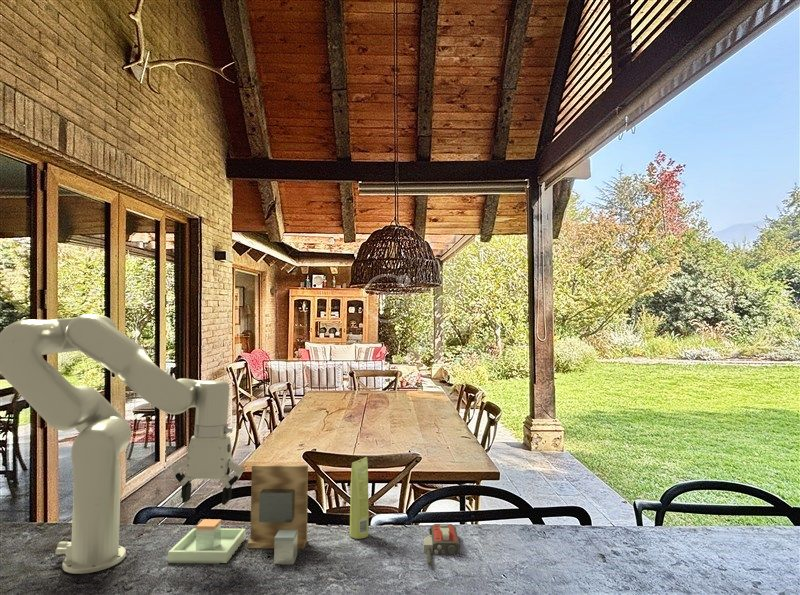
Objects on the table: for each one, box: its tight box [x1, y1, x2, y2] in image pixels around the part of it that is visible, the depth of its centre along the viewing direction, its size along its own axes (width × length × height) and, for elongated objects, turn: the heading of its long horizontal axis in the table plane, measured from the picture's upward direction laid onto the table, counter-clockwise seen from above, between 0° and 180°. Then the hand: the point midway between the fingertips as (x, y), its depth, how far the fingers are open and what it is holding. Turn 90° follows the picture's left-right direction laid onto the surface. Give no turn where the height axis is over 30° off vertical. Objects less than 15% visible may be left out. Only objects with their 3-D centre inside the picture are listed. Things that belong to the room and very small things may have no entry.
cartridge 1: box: [195, 518, 222, 551], centre depth 123 cm, size 4×4×6 cm
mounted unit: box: [246, 464, 309, 550], centre depth 126 cm, size 14×5×19 cm, turn 89°
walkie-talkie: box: [423, 523, 461, 567], centre depth 123 cm, size 9×4×20 cm
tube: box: [349, 456, 370, 540], centre depth 132 cm, size 6×5×20 cm
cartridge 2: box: [273, 530, 298, 565], centre depth 118 cm, size 4×4×6 cm
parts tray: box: [167, 527, 247, 564], centre depth 123 cm, size 14×14×2 cm
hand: (205, 502), depth 123 cm, fingers open, 9 cm apart
